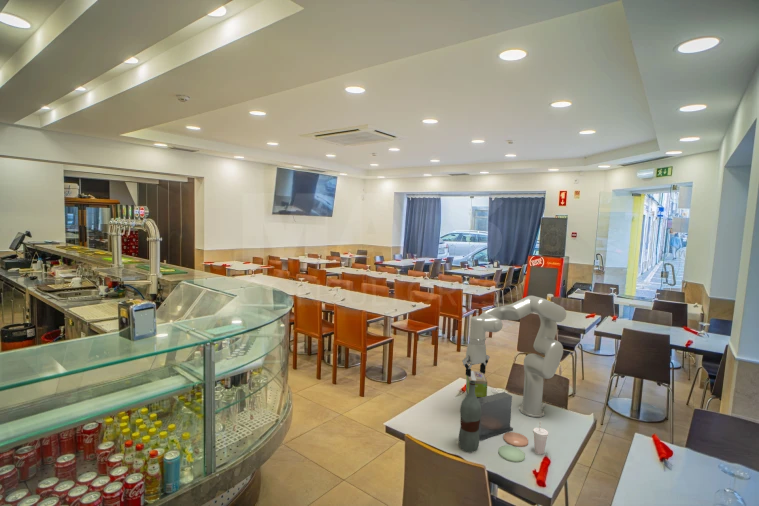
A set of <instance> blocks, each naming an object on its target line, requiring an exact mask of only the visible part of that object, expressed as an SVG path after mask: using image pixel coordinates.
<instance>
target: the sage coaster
mask: <svg viewBox="0 0 759 506" xmlns="http://www.w3.org/2000/svg"><path fill="white" fill-rule="evenodd" d="M498 455H499V457H501V458H502V459H504V461H505V460H506V461H508V462H512V463H522V462H524V461H525V459H526V454H525V452H524V451H523V450H522V449H521V448H520V447H516V446H512V445H502V446H500V447H499V448H498Z"/></svg>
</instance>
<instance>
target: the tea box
mask: <svg viewBox="0 0 759 506" xmlns="http://www.w3.org/2000/svg"><path fill="white" fill-rule="evenodd" d="M465 376H466V378H465V379H466V381H465V397H466V396H467V394H468V393H469V383H470V382H469V381H475V395H476V397H477V398H482V397H486V396H488V380H487V377H486V375H485V374H483V373H481V372H480V370H471V377H469V376H467V375H466V374H465Z"/></svg>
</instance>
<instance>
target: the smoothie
mask: <svg viewBox="0 0 759 506" xmlns="http://www.w3.org/2000/svg"><path fill="white" fill-rule="evenodd" d="M541 426H542V421H539V426H538V427H534V428H533V430H532V433H533V442H534V443H533V444H534V452H535V453H536V454H537V455H544V454H545V448H546V445H547V440H548V437H549V431H548V430H546V429H545V428H542V427H541Z"/></svg>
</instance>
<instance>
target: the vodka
mask: <svg viewBox="0 0 759 506" xmlns="http://www.w3.org/2000/svg"><path fill="white" fill-rule="evenodd" d="M469 382H470V383H469V393H468V394H467V396H466V395H465V397H464V398H463V400H462V401H461V403H460V408H459V413H460V428H459V431H458V432H459V433H458V444H459V448H460V449H461V450H462V451H464V452H468V453H474V452H477V451H478V449H479V446H480V442H481V441H480V439H479V424H480V417H481V405H480V402H479V401H478V399H477V397H476V395H475V381H469Z"/></svg>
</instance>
